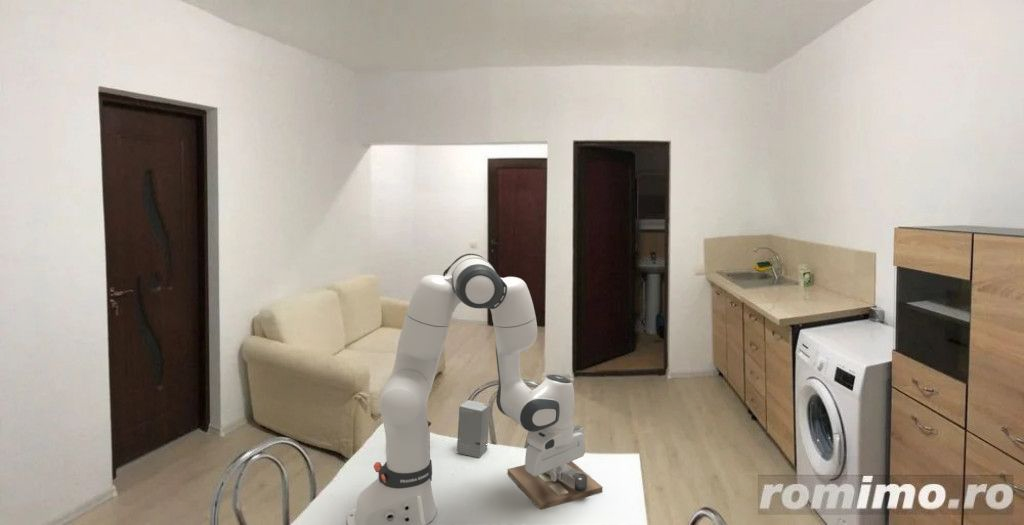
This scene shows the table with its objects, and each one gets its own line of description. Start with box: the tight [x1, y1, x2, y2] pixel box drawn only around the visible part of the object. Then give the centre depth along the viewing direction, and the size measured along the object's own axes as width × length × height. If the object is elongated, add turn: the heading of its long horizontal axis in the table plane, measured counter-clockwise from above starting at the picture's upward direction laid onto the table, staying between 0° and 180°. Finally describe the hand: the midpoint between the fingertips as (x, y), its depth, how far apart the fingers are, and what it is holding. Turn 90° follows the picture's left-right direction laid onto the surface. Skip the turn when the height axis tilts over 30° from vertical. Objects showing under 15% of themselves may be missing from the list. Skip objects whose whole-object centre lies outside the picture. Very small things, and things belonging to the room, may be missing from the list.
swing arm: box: [545, 464, 587, 491], centre depth 154 cm, size 18×4×3 cm, turn 41°
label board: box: [507, 443, 603, 511], centre depth 156 cm, size 20×21×8 cm
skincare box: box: [456, 399, 491, 459], centre depth 173 cm, size 8×7×16 cm
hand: (555, 479), depth 151 cm, fingers closed
